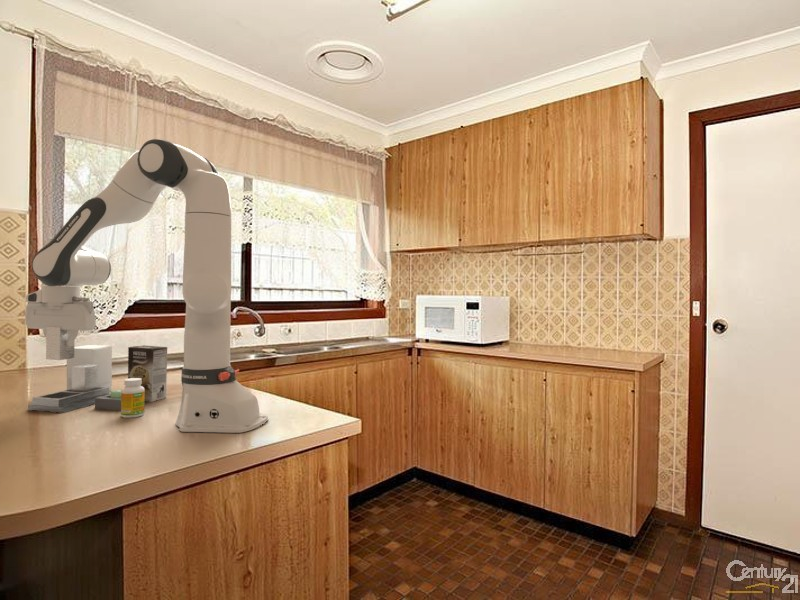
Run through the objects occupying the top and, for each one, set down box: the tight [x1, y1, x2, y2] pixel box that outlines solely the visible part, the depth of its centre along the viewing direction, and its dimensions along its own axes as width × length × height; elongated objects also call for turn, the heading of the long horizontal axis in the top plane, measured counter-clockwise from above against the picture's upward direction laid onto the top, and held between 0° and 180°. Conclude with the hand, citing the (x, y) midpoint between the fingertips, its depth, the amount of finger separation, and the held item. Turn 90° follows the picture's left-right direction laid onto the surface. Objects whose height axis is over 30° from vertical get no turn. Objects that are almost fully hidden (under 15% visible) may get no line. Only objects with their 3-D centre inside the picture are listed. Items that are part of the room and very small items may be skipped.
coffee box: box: [127, 345, 168, 403], centre depth 141 cm, size 9×6×16 cm
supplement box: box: [66, 344, 113, 392], centre depth 147 cm, size 9×9×15 cm
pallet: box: [27, 364, 110, 414], centre depth 132 cm, size 11×17×10 cm, turn 169°
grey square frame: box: [94, 393, 121, 412], centre depth 131 cm, size 8×8×3 cm
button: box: [109, 389, 122, 398], centre depth 131 cm, size 4×4×3 cm
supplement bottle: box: [120, 378, 145, 419], centre depth 122 cm, size 5×5×10 cm
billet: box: [45, 327, 75, 361], centre depth 128 cm, size 4×4×9 cm
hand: (60, 345), depth 128 cm, fingers closed on billet, 4 cm apart
